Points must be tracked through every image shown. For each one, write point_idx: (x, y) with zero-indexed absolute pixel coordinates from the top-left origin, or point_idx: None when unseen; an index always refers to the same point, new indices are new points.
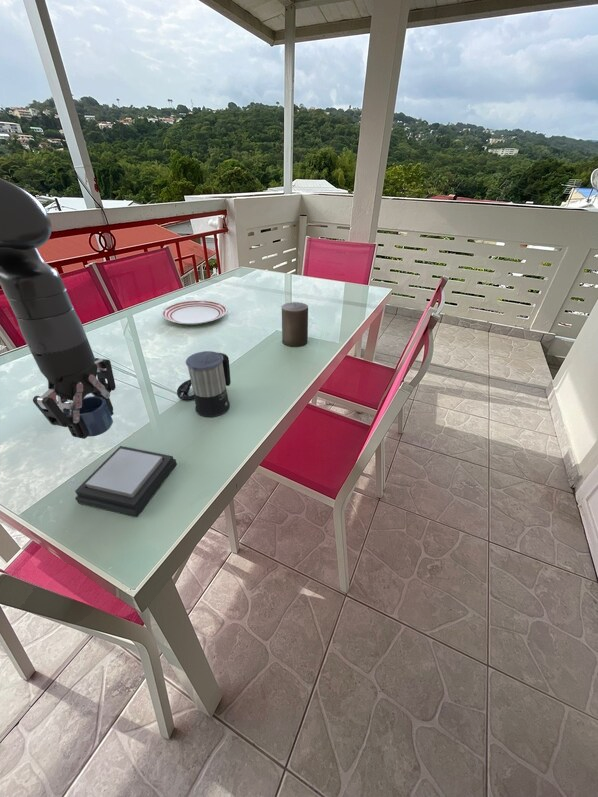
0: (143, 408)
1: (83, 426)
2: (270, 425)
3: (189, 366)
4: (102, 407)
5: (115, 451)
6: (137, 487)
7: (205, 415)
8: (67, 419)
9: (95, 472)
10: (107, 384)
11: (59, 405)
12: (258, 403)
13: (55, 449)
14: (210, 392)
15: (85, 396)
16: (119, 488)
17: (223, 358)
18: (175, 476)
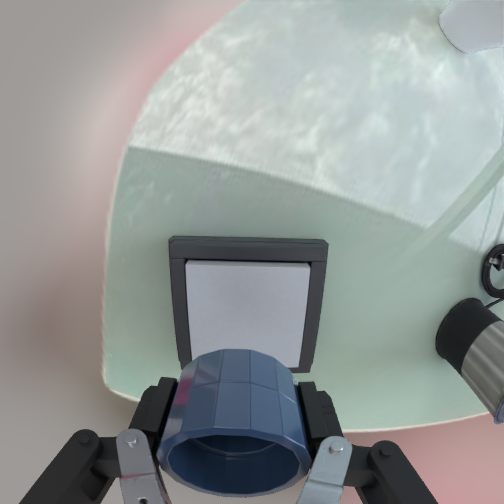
0: (461, 186)
1: None
2: (403, 423)
3: None
4: (241, 495)
5: (305, 250)
6: None
7: (439, 335)
8: (110, 482)
9: (229, 250)
10: (372, 484)
11: (121, 485)
12: (455, 386)
13: (300, 64)
14: (466, 379)
15: (454, 41)
16: (196, 340)
17: None
18: None
